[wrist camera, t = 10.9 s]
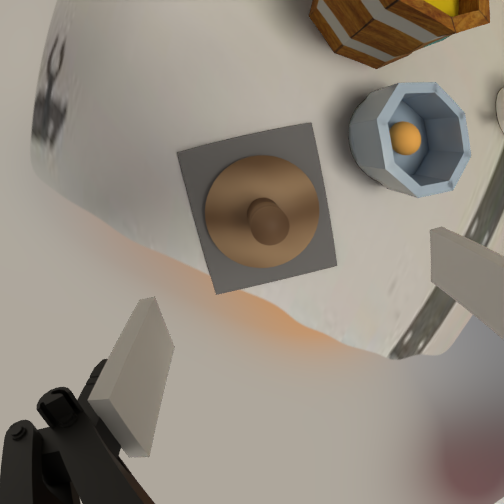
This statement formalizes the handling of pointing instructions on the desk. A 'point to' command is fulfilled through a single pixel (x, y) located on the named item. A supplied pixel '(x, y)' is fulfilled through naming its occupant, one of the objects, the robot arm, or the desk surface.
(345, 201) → the desk surface
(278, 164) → the lid
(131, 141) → the desk surface
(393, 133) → the ball
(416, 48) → the mug
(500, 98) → the mug
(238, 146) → the mat
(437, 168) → the bowl
